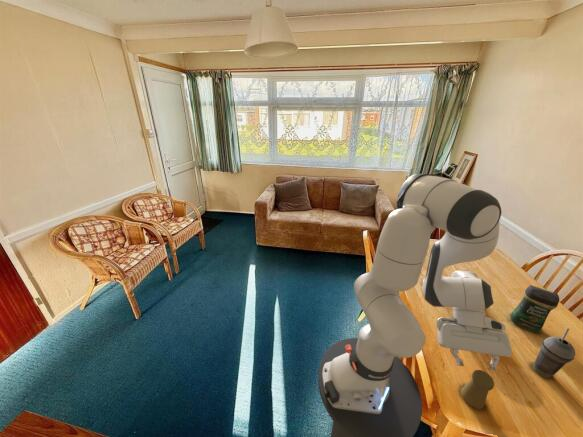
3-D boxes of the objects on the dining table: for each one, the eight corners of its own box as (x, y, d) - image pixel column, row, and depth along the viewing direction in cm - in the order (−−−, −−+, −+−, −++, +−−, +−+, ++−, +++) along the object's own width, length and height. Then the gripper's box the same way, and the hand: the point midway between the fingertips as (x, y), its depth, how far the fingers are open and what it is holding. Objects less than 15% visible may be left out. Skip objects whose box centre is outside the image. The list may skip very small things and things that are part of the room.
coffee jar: (509, 323, 98) (528, 290, 90) (509, 312, 104) (527, 280, 96) (541, 336, 92) (564, 302, 85) (539, 324, 98) (560, 291, 90)
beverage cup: (535, 378, 78) (565, 338, 69) (522, 358, 84) (548, 319, 76) (562, 385, 76) (596, 344, 67) (547, 364, 82) (576, 325, 74)
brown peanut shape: (456, 393, 73) (468, 371, 69) (467, 383, 76) (478, 362, 71) (477, 412, 69) (491, 391, 64) (488, 402, 71) (502, 381, 67)
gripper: (440, 316, 75) (445, 364, 70) (510, 325, 72) (520, 376, 67) (432, 315, 81) (435, 360, 76) (496, 324, 78) (504, 370, 73)
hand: (476, 368), depth 72 cm, fingers open, 8 cm apart
